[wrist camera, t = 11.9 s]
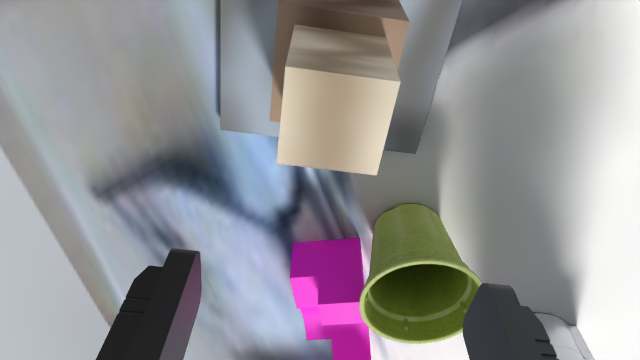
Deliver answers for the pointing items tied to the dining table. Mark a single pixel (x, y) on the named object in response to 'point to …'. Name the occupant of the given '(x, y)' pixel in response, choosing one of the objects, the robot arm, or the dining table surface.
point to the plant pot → (415, 279)
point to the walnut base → (260, 60)
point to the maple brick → (336, 100)
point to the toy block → (331, 294)
